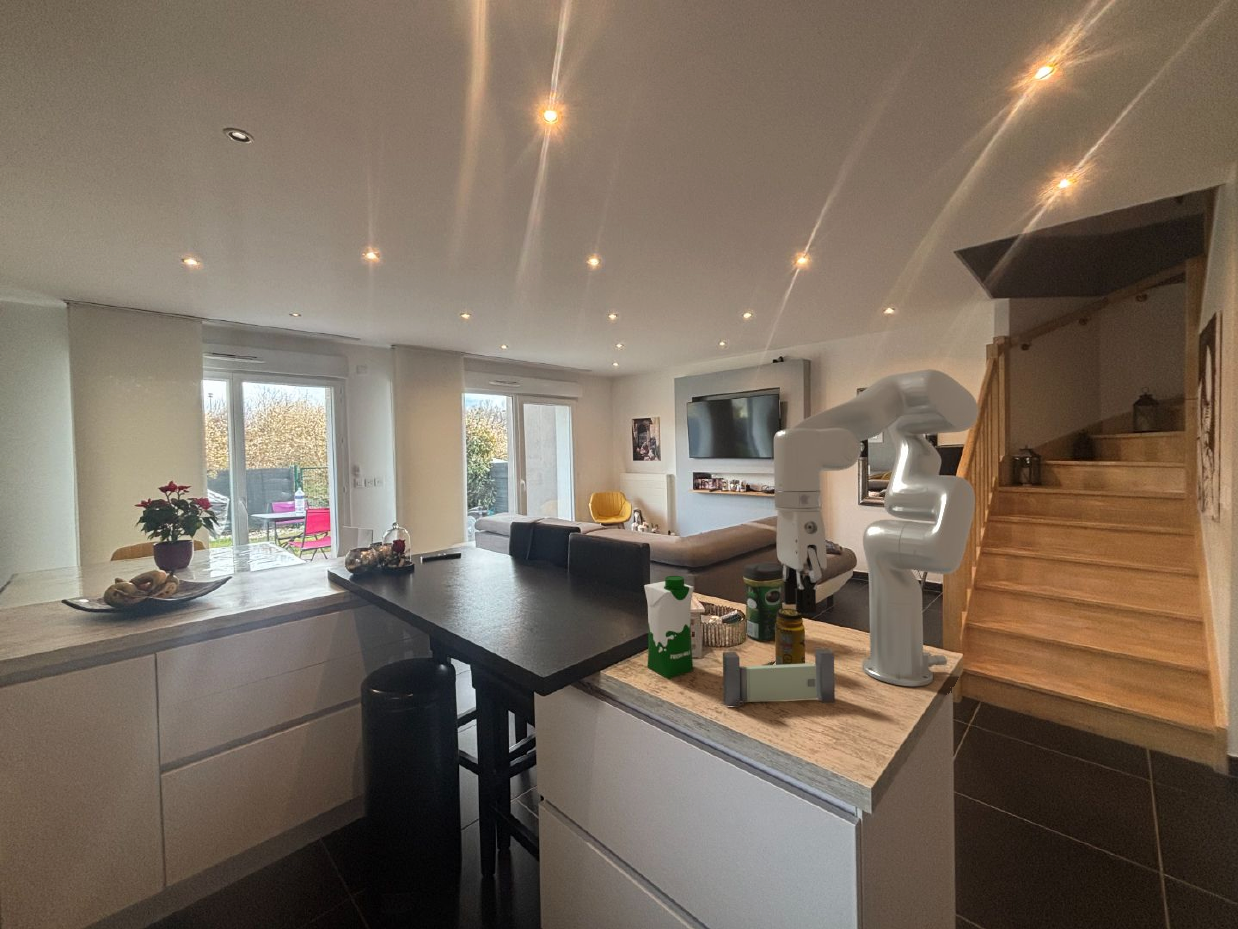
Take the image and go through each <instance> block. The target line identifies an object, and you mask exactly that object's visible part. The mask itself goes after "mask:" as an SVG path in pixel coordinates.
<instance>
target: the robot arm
mask: <svg viewBox="0 0 1238 929" xmlns="http://www.w3.org/2000/svg"><path fill="white" fill-rule="evenodd" d="M978 416H979V405H978V403H977V401H976V399H975V397H974V395H973V394H972V393H971V392H970V391H969V390H968V389H967V388H965V386H963V385H961V384H960V383H959V382H958V381H957V380H955V379H954V378H953V377H951V376H950V375H948V374H946V373H945V372H942V371H940V370H938V369H937V370H936V369H921V370H915V371H910V372H904V373H896V374H891V375H886V376H884V377H881V378H880V379H878V380H876V381H875V382H873V383H872V384H871V385H870V386H868V387H867V388H865V389H863V391H861V392H860V393H859V394H857V395H856V396H855V397H852V399H850V400H848V401H845V402H843V403H840V404H837V405H835V406H833V407H831V408H828V409H826V410H824V411H820V412H818V413H816V414H813V415H811V416H809V417H807V418H805V419H803V420H801V421H799V422H798V423H797V424H795V425H794V426H793V427H791V428H785V429H781V430H779V431H777V432H776V433H774V434H775V435H774V436H773V476H774V477H773V478H774V479H773V481H774V482H773V483H774V484H773V485H774V510H776V511H777V518H776V520H777V521H776V555H777V559H778V561H779V562H780V563H781V564H780V565H781V567H782V572H783V603H784V604H785V605H787V606H788V605H789V606H792V605H795V610H796V612H798V613H802V614H814V613H816V612H817V599H816V598H817V595H816V594H817V593H816V592H817V591H816V590H817V588H818V581H819V580H820V579H821V578H822V576H823V575H822V571H825V570H826V569H827V568H828V563H827V562H828V561H827V559H828V558H827V544H826V532H825V524H824V518H823V513H822V510H823V509H822V503H823V502H822V471H823V472H824V471H826V472H827V471H829V472H830V471H831V472H833V471H845V470H847V469H850V468H851V467H853V466H854V465H855V464H857V462H858V461H859V459H860V457H861V454H862V445H861V442H863V441H866V440H869V439H872V438H876V437H877V436H879V435H881V434H882V433H883V432H884V431H885V430H886V429H888V432H889V434H890V437H891V440H892V442H893V445H894V450H895V460H894V463H893V464H894V465H893V467H892V471H891V473H890V474H891V475H890V478H889V480H888V483H887V484H888V485H887V487H886V490H885V495H884V499H883V506H884V509H885V510H886V512H887V513H888V515H890V516H892V517H895V518H897V519H879V520H875V521H873V522H871V523H869V524H868V525H867V526H866V527H865V528H864V531H863V535H862V546H863V551H864V556H865V560H866V565H867V566H866V567H867V572H868V573H867V574H868V592H869V593H868V598H869V643H870V644H869V648H870V649H869V650H870V651H869V653H870V654H869V656H868V657H866V658H864V659H863V660H862V661H861V662H862V663H861V664H862V665H861V668H862V670H863V672H865V673H866V674H867V675H869V676H871V678H874V679H876V680H879V681H881V682H884V683H887V684H891V685H896V686H903V687H923V686H927V685H929V684H931V683H932V682H933V681H934V680H933V678H934V675H933V672H932V670H931V669H930V668H931V667H933V666H946V665H947V663H948V659H947V658H946V656H945V655H944V654H938V655H937V654H935V655H932V654H931V652H930V651H924V634H923V633H924V629H923V628H924V625H923V624H924V623H923V620H924V619H923V617H924V616H923V614H924V613H923V592H922V591H923V590H922V588H921V584H920V582H919V580H918V578H917V577H916V575H915V574H914V572H913V571H918V572H924V573H930V574H937V575H949V574H951V575H952V574H953V573H955V572H957V570H958V569H959V568H960V566H961V564H962V562H963V559H964V556H965V555H964V554H965V551H966V547H967V543H968V538H969V536H970V535H969V534H970V530H971V527H972V523H973V519H974V513H975V509H976V494H975V491H974V487H973V486H972V484H971V483H970V481H968V480H967V479H965V478H963V477H961V476H958V475H957V476H956V475H942V474H940V470H941V466H942V457H941V455H940V453H939V452H938V451H937V449H936V447H934V446H933V445H932V444H931V442H929V441H928V440H927V439H926V437H925V436H924V435H931V434H934V435H935V434H946V433H947V434H948V433H960V432H964V431H968V430H969V429H971V428H972V427H973V426H974V425H975V424H976V422H977V420H978ZM898 519H899V520H898ZM901 519H903V520H901ZM919 521H921V522H919ZM929 522H932V523H929ZM933 522H934V523H933ZM805 567H808V569H805ZM912 570H913V571H912ZM803 574H807V575H805V576H803Z"/></svg>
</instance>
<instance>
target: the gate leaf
mask: <svg viewBox="0 0 1238 929" xmlns="http://www.w3.org/2000/svg"><path fill="white" fill-rule="evenodd" d="M762 665H763V664H762ZM813 699H814V700H817V699H818V698H817V685H816V665H815V664H814V663H813V662H811V663H805V664H786V665H763V666H761V665H747V666H742V665H740V703H747V702H749V703H751V702H752V703H754V702H774V701H793V700H795V701H796V700H813Z"/></svg>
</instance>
